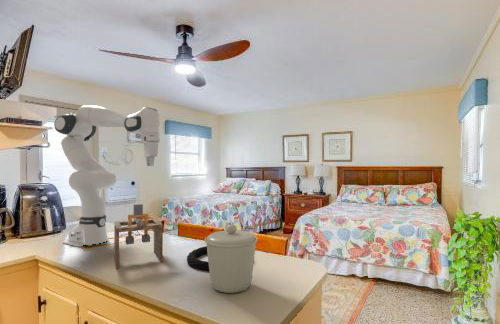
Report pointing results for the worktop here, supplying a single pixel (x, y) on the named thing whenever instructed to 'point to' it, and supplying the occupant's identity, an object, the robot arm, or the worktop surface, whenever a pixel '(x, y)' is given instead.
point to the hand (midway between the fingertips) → (150, 166)
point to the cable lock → (195, 262)
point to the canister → (231, 259)
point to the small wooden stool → (137, 221)
